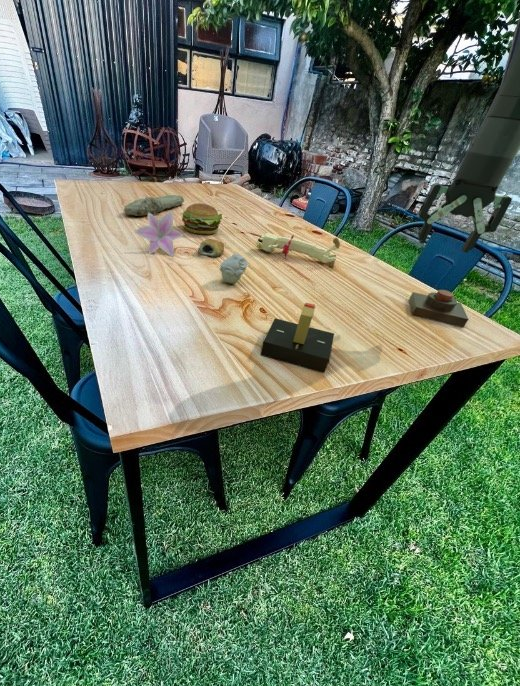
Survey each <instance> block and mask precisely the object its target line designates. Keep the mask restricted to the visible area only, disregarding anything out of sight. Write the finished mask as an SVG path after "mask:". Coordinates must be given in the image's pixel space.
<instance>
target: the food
mask: <svg viewBox="0 0 520 686" xmlns="http://www.w3.org/2000/svg"><path fill="white" fill-rule="evenodd" d="M180 215H182V218H181V221H182V222H183V224H184V225H183V228H184V229H185V230H186V231H187V232H189V233H192V234H196V235H206V236H207V235H214V234H216V233H218V231H219V226H220V224H221V222H222V220H223V219H222V218H223V213H219V211H218V210H217V209H216V207H214V206H212V205H210V204H206V203H198V202H197V203H193V204H190V205H188V206H187V207H186V209H185V210H183V212H180Z"/></svg>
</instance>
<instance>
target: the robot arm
mask: <svg viewBox="0 0 520 686" xmlns="http://www.w3.org/2000/svg"><path fill="white" fill-rule="evenodd" d="M513 32H514V33H513V35H512V41H511V44H510V49H509V51H508V57H507V59H506V63H505V68H504V71H503V74H502V79H501V83H500V86H499V88H498V90H497V92H496V94H495V96H494V99H493V101H492V103H491V104H490V106H489V108H488V111H487V112H486V115H485V117H484V119H483V121H482V122H481V124H480V126H479V127H478V129H477V130H476V132H475V134H474V137H473V139H472V140H471V141H470V143H469V146H468V149H467V151H466V153H465V155H464V157H463V159H462V162H461V164H460V165H459V168H458V170H457V172H456V174H455V176H454V178H453V180H452V181H451V183H450V184H449V185H448V186H445V185H441V184H439V183H438V182H434V183H433V184H432V185H431V186H430V188H429V191H428V192H427V194H426V196H425V198H424V200H423V202H422V204H421V206H420V208H419V210H418V212H417V216H418V217H419V219H421V220H422V221H423V224H422V227H421V228H420V231H419V233H418V235H417V239H418V242H419V244H421V245H424V244H425V243H426V241H427V239H428V236H429V234H430V233H431V230H432V228H433V226H434V224H433V223H435V222H437V221H438V220H439V219H441V218H442V217H445V216H446V215H447V214H449V213H450V214H451V215H452V216H462V217H465V218H470V217H471V220H472V223H473V228H474V229H473V230H471V231H470V233H469V234H468V236H467V238H466V240H465V242H464V244H463V246H462V247H461V252H462V253H465V254H467V253H469V251H472V250H473V249H474V248H475V247H476V245H477V242H478V241H479V240H480V237H482V235H483V234H485V233H494V232H496V231H497V230H498V227H499V226H500V223H501V222H502V220H503V218H504V217H505V214H506V212H507V210H508V209H509V207H510V205H511V203H512V201H513V198H512V197H511V196H509V195H507V194H504V195H498V194H497V195H496V193H497V190H498V188H499V186H500V185H501V183H502V181H503V180H504V178H505V176H506V174H507V172H508V171H509V169H510V167H511V166H512V163H513V162H514V160H515V159H516V156H517V154H518V153H519V151H520V17H519V18H518V21H517V23H516V26H515V29H514V31H513ZM443 194H444V196H445V202H443V203H442V204H440V205H439V206H437V207H436V209H434V210H433V211H432V212H430V213H429V211H430V209H431V207H432V206H433V203H434V202H435V200H436V199H439V198H440V197H441V196H442V195H443ZM492 203H493V206H492V207H493V208H494V210H493V211H492V213H491V215H490V217H489V219H488V221H487V223H485V217H484V211H483V210H484V209H485V208H486V207H488V206H489V205H491V204H492Z"/></svg>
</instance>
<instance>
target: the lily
mask: <svg viewBox="0 0 520 686" xmlns="http://www.w3.org/2000/svg"><path fill="white" fill-rule="evenodd" d="M174 216H175V215H174V211H173V210H170V211H168V212H167V213H165V214H163V216H161V217H160V218H159V219H158V218H157V217H156V216H155V214H154V215H152V214H151V213H148V215H147V220H148V224H147V225H143V226H142V227H139V228H137V229H135V230H134V233H135V234H136V235H137V236H139V237H141V238H143V239H145V240H147V241H149V244H148V254H149V255H152V254H153V253H154V252H156V251H157V250H158V249H159V248H160V249H161V250H162V251H164V252H165V253H166V254H168V255H169V256H170V257H174V256H175V247H174V246H175V245H174V242H173V241H175V240H178V239H180V238H182V237H183V236H184V234H183V233H182V232H180V231H178V230H176V229H175V228H173V225H174Z"/></svg>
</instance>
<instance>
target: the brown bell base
mask: <svg viewBox="0 0 520 686" xmlns="http://www.w3.org/2000/svg"><path fill="white" fill-rule="evenodd" d="M436 294H437V292H434V291H431V292H430V293H428V294H423V293H419V292H415V291H412V293H411V294H410V296H409V299H408V302H409V308H410V313H411V316H414V317H419V318H423V319H427V320H430V321H435V322H439V323H443V324H447V325H451V326H455V327H460V328H464V327H465V326H466V325H467V323H468V321H469V320H470V318H469V317H468V315H467V313H466V311H465V308H464V307H463V305H462V303H461V302H459V301H457V299H456V298H455V297H453V298H452V299H451V301H450V302H445V301H441V300H439V299H437V298H435V295H436ZM457 302H458V303H457Z"/></svg>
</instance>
